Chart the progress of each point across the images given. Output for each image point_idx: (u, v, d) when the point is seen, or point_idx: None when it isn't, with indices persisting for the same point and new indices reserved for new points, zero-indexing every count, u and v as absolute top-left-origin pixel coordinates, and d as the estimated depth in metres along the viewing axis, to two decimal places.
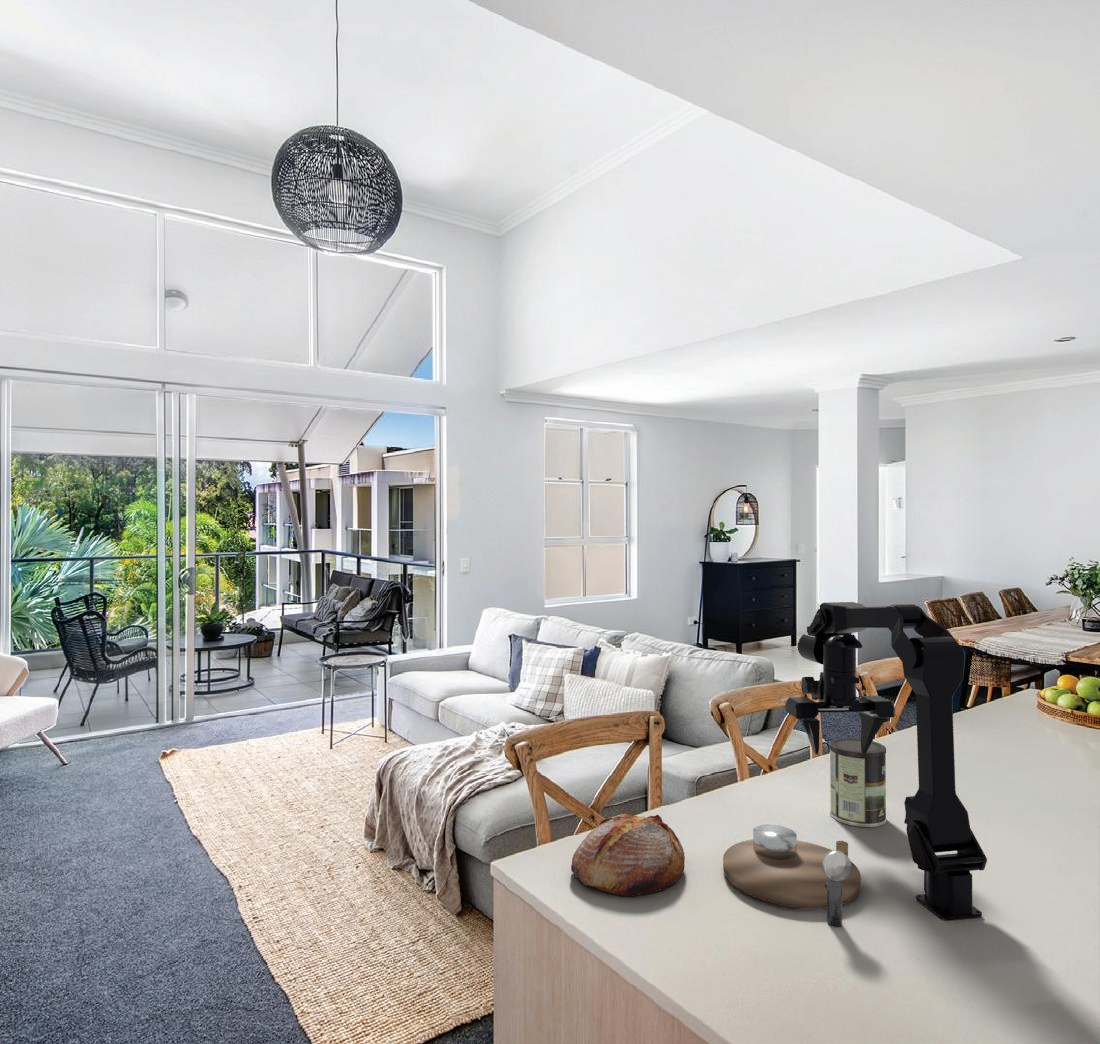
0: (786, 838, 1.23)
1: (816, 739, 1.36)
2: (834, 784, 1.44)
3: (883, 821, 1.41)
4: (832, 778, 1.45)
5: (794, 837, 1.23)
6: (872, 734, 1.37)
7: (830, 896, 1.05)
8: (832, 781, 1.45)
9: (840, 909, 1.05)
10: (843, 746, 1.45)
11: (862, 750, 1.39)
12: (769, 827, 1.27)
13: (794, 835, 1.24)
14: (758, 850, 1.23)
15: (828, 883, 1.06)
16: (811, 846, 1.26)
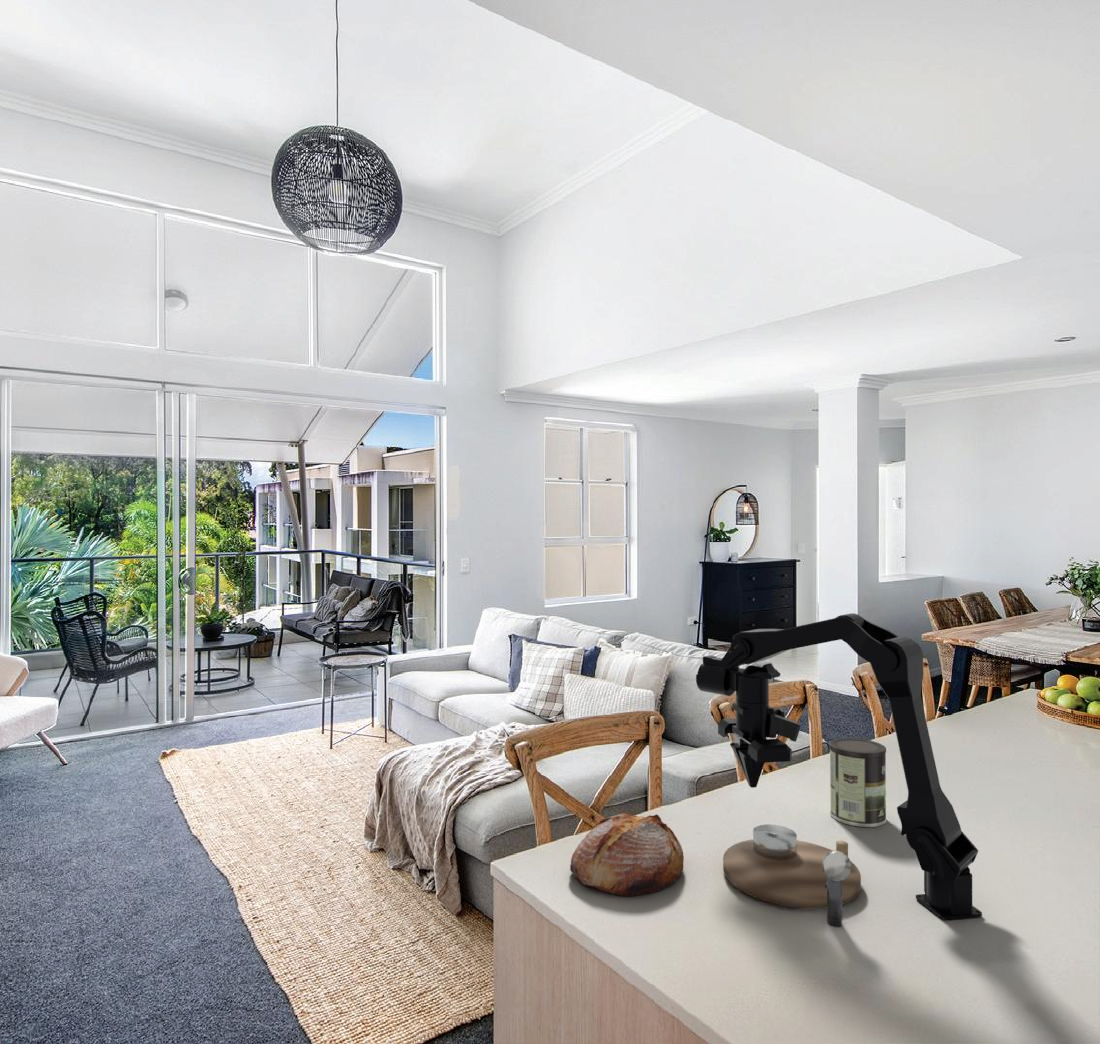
0: (786, 838, 1.23)
1: (742, 768, 1.34)
2: (834, 784, 1.44)
3: (883, 821, 1.41)
4: (832, 778, 1.45)
5: (794, 837, 1.23)
6: (744, 767, 1.32)
7: (830, 896, 1.05)
8: (832, 781, 1.45)
9: (840, 909, 1.05)
10: (843, 746, 1.45)
11: None
12: (769, 827, 1.27)
13: (794, 835, 1.24)
14: (758, 850, 1.23)
15: (828, 883, 1.06)
16: (811, 846, 1.26)
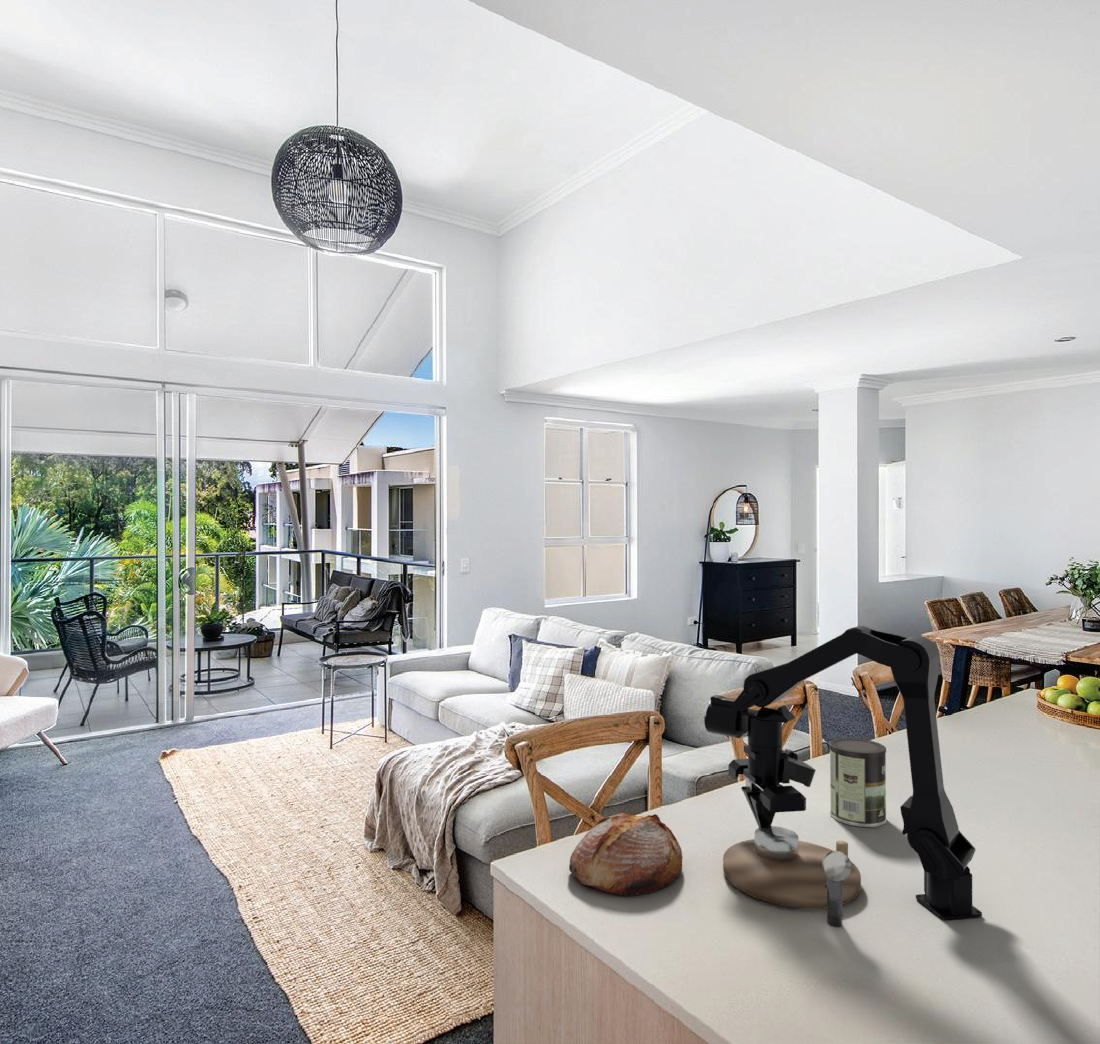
0: (787, 840, 1.22)
1: (753, 813, 1.29)
2: (834, 784, 1.44)
3: (883, 821, 1.41)
4: (832, 778, 1.45)
5: (796, 839, 1.22)
6: (756, 813, 1.28)
7: (830, 896, 1.05)
8: (832, 781, 1.45)
9: (840, 909, 1.05)
10: (843, 746, 1.45)
11: None
12: (771, 829, 1.26)
13: (796, 837, 1.23)
14: (760, 852, 1.22)
15: (828, 883, 1.06)
16: (811, 846, 1.26)
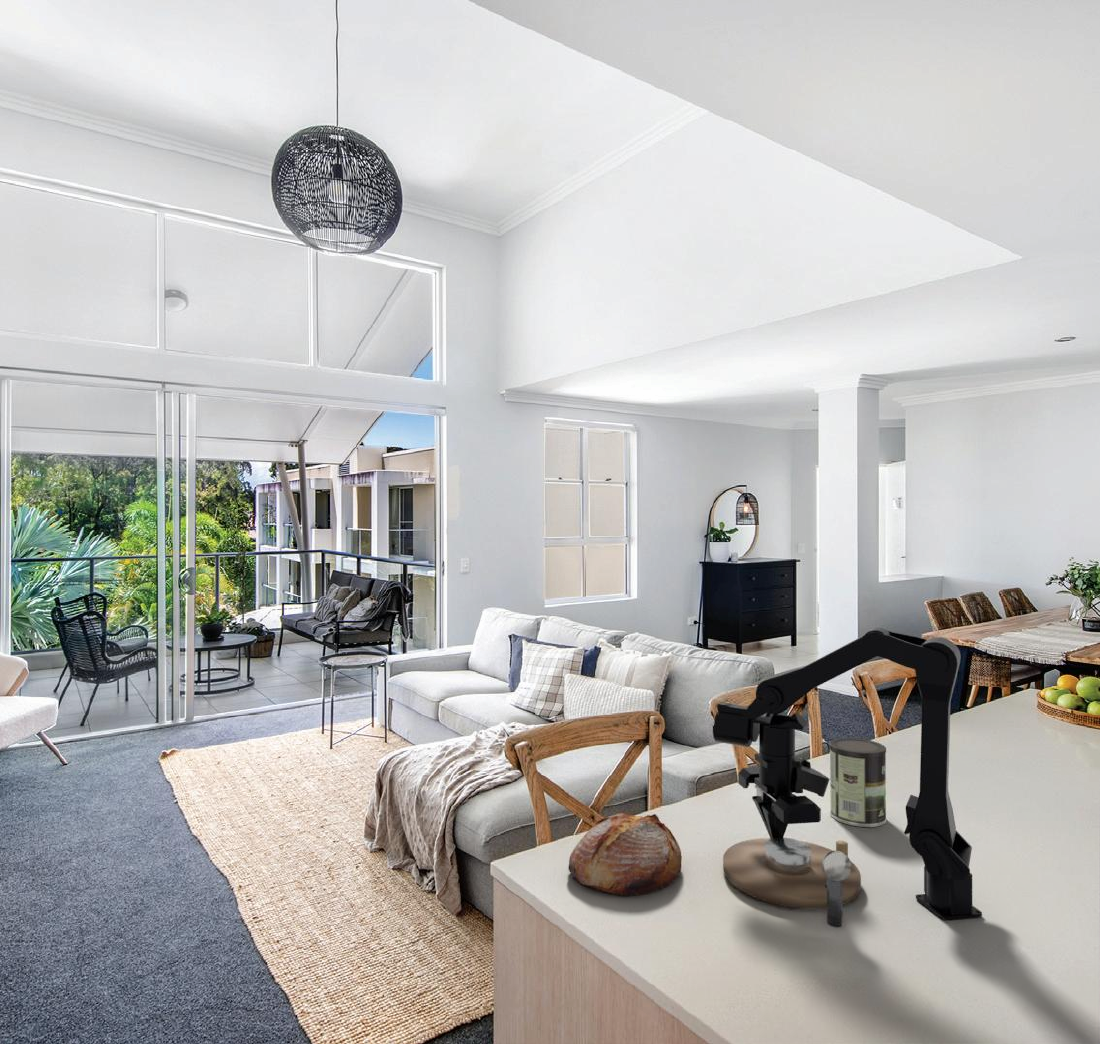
0: (799, 853, 1.17)
1: (765, 824, 1.25)
2: (834, 784, 1.44)
3: (883, 821, 1.41)
4: (832, 778, 1.45)
5: (809, 852, 1.17)
6: (768, 824, 1.23)
7: (830, 896, 1.05)
8: (832, 781, 1.45)
9: (840, 909, 1.05)
10: (843, 746, 1.45)
11: None
12: (782, 841, 1.22)
13: (808, 849, 1.18)
14: (771, 865, 1.18)
15: (828, 883, 1.06)
16: (810, 846, 1.26)
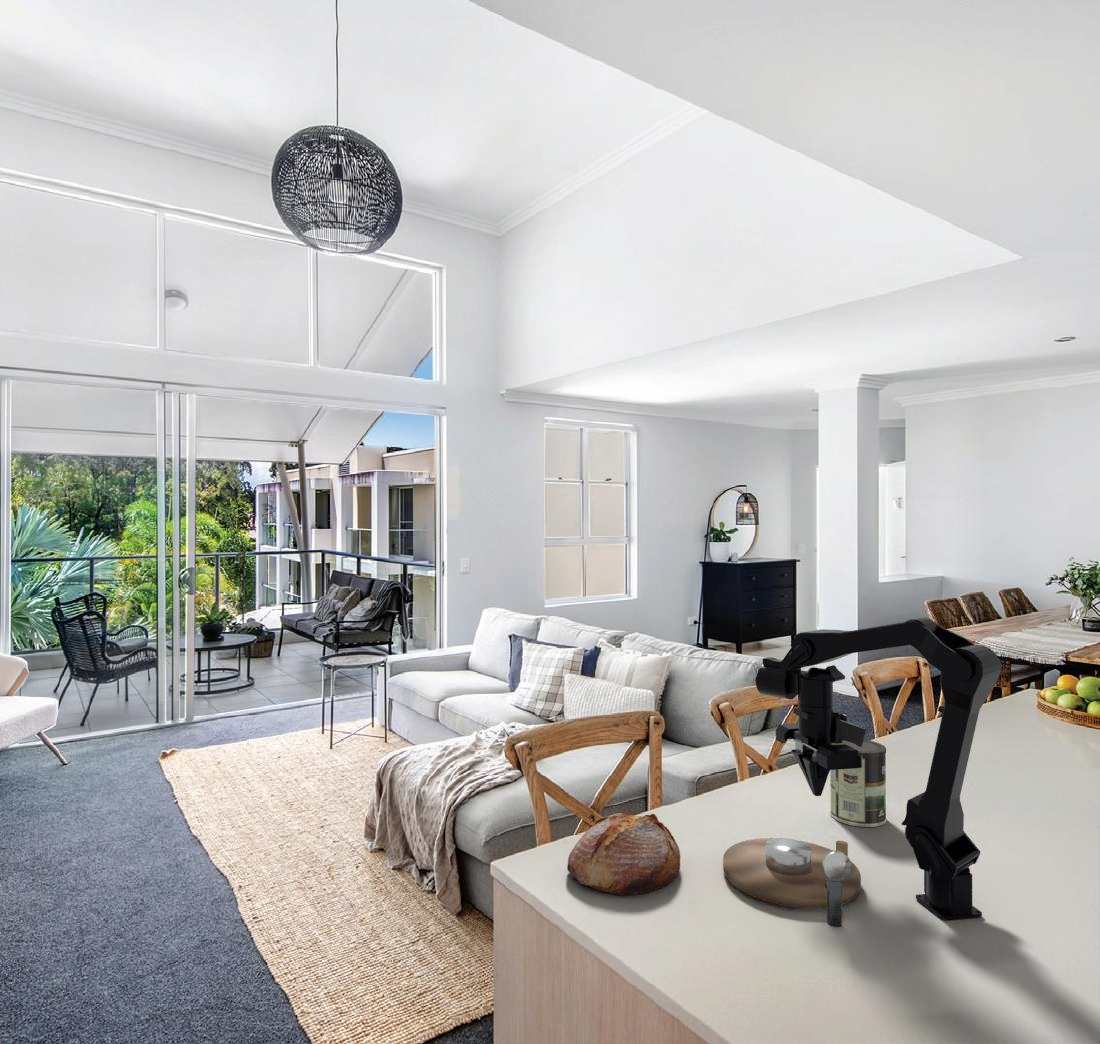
0: (800, 853, 1.17)
1: (805, 776, 1.28)
2: (834, 784, 1.44)
3: (883, 821, 1.41)
4: (832, 778, 1.45)
5: (809, 852, 1.17)
6: (809, 775, 1.26)
7: (830, 896, 1.05)
8: (832, 781, 1.45)
9: (840, 909, 1.05)
10: None
11: None
12: (783, 841, 1.21)
13: (808, 850, 1.18)
14: (771, 865, 1.18)
15: (828, 883, 1.06)
16: (810, 846, 1.26)
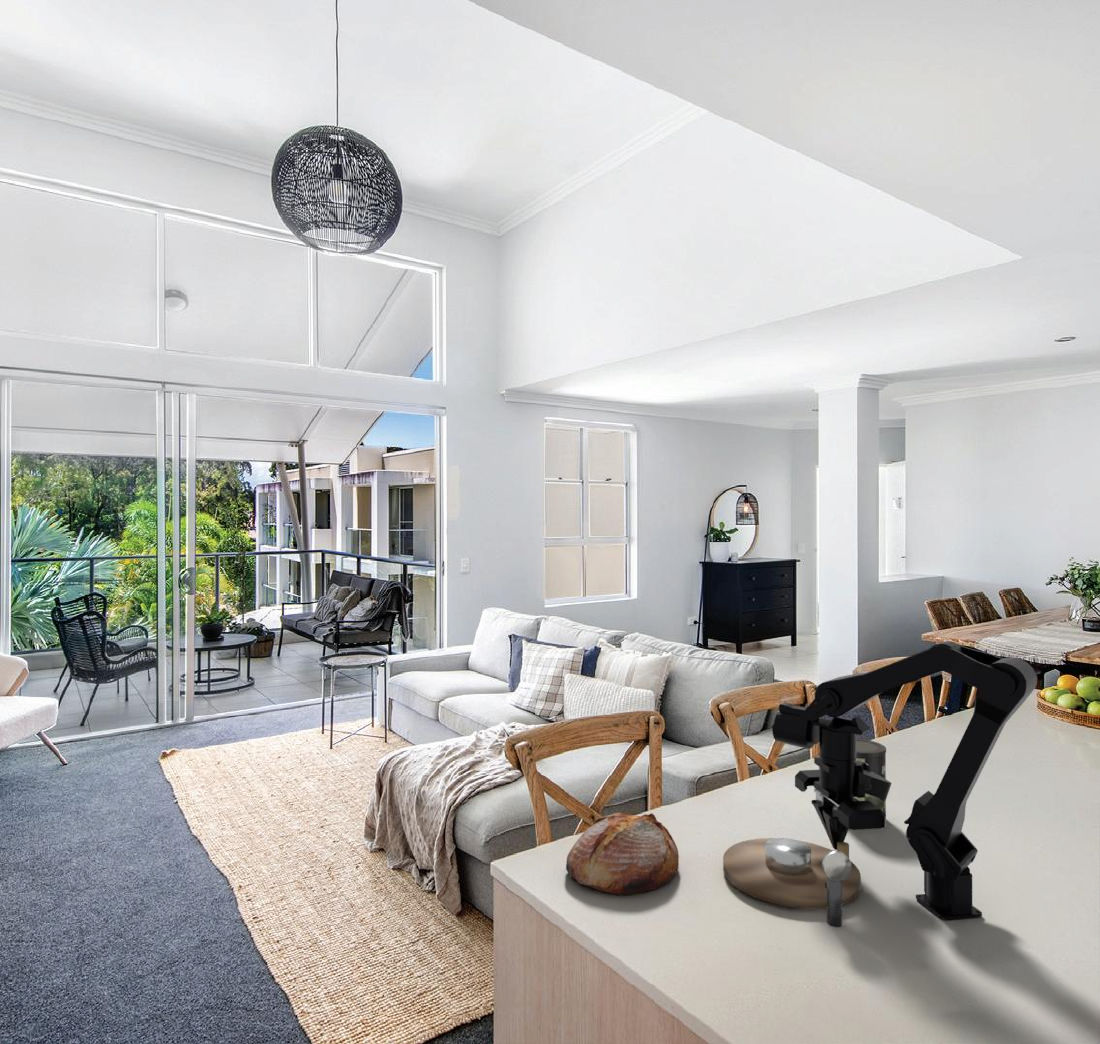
0: (799, 853, 1.17)
1: (825, 829, 1.23)
2: None
3: None
4: None
5: (808, 852, 1.17)
6: (829, 828, 1.21)
7: (830, 896, 1.05)
8: None
9: (840, 909, 1.05)
10: None
11: None
12: (783, 841, 1.21)
13: (808, 850, 1.18)
14: (770, 865, 1.18)
15: (828, 883, 1.06)
16: (813, 847, 1.26)
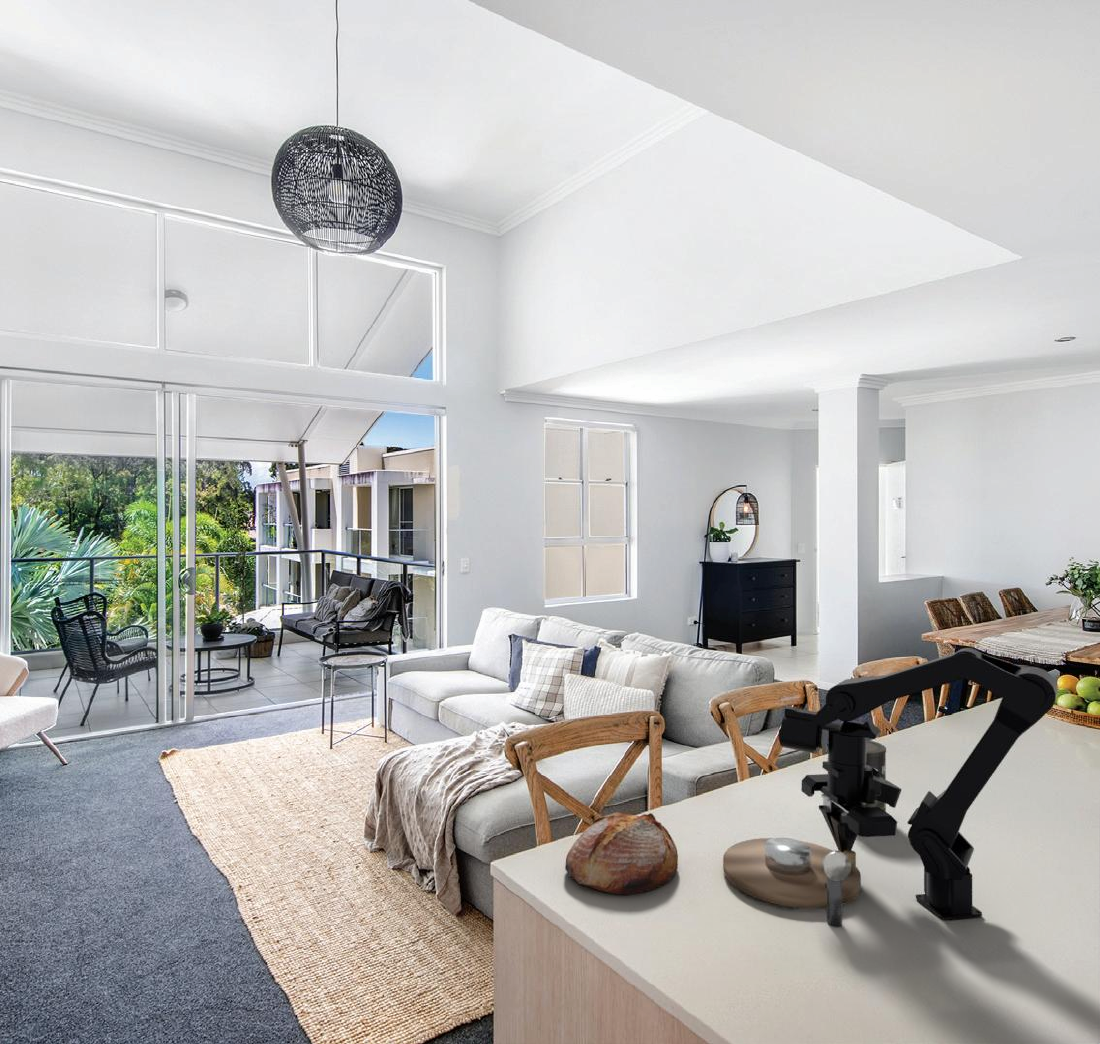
0: (794, 853, 1.17)
1: (833, 835, 1.20)
2: None
3: None
4: None
5: (804, 854, 1.17)
6: (837, 835, 1.18)
7: (830, 896, 1.05)
8: None
9: (840, 909, 1.05)
10: None
11: None
12: (787, 841, 1.21)
13: (806, 852, 1.17)
14: (766, 861, 1.19)
15: (828, 883, 1.06)
16: None
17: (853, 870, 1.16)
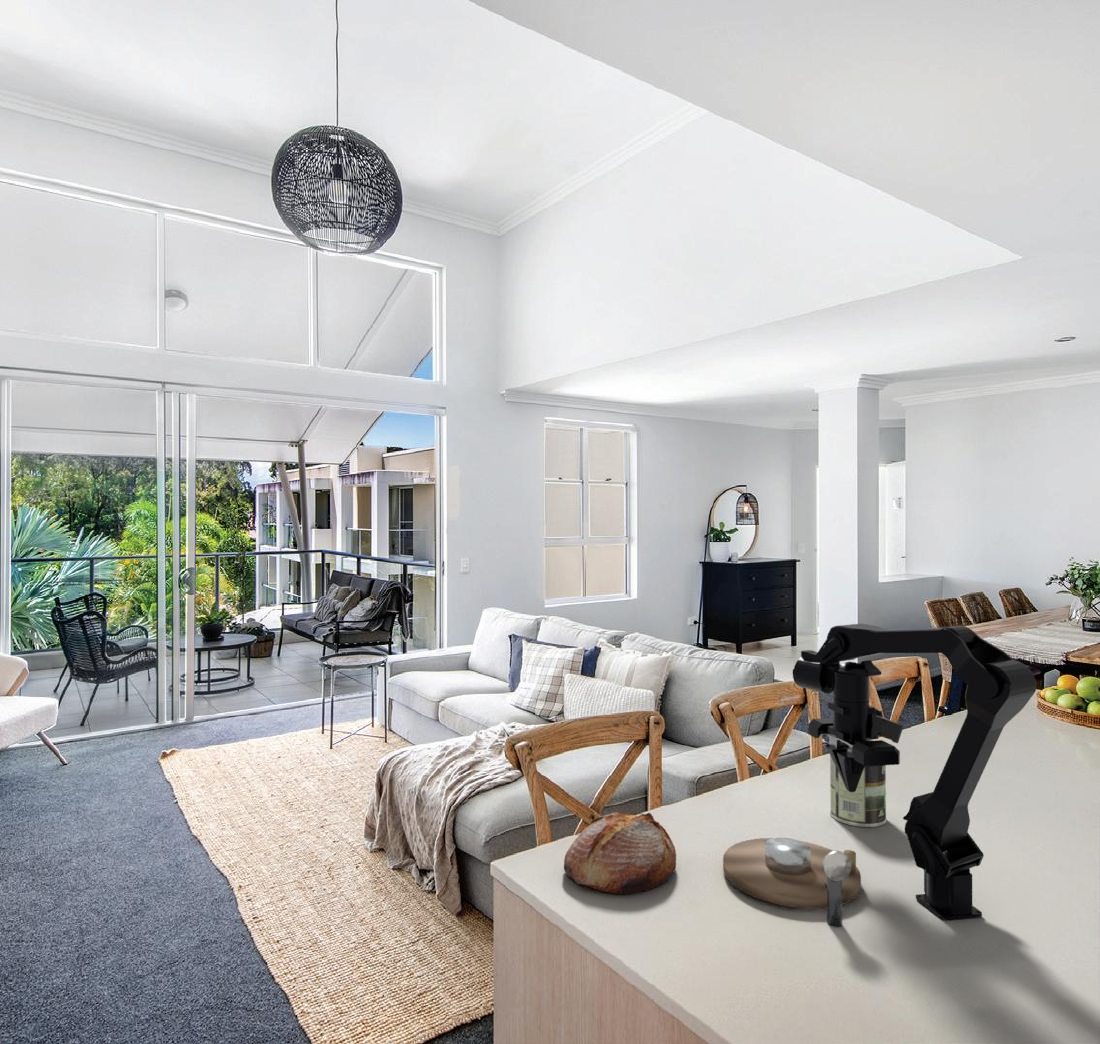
0: (794, 853, 1.17)
1: (839, 771, 1.26)
2: (834, 784, 1.44)
3: (883, 821, 1.41)
4: (832, 778, 1.45)
5: (804, 854, 1.17)
6: (843, 770, 1.24)
7: (830, 896, 1.05)
8: (832, 781, 1.45)
9: (840, 909, 1.05)
10: None
11: None
12: (788, 841, 1.21)
13: (806, 852, 1.17)
14: (766, 861, 1.19)
15: (828, 883, 1.06)
16: None
17: (853, 871, 1.16)
